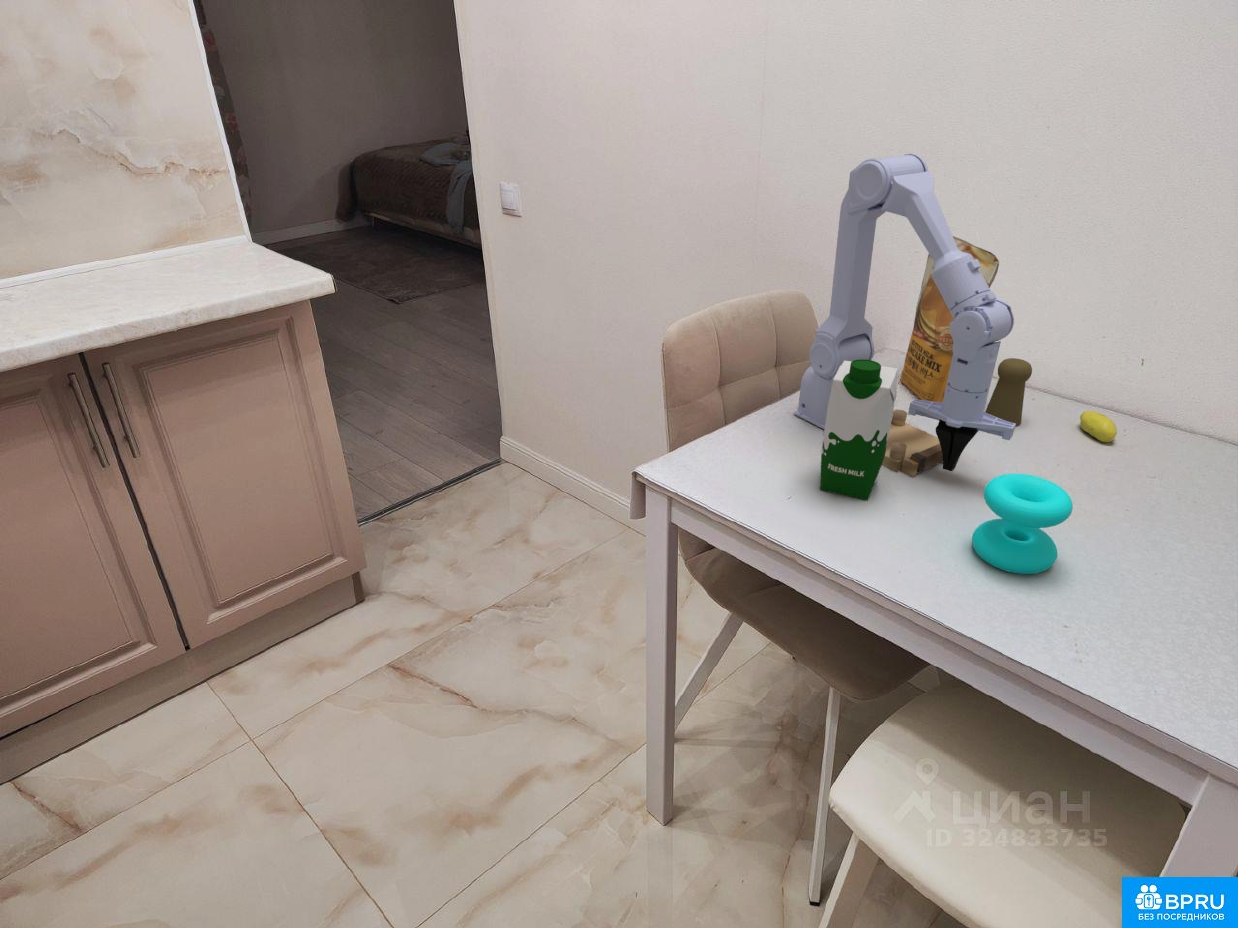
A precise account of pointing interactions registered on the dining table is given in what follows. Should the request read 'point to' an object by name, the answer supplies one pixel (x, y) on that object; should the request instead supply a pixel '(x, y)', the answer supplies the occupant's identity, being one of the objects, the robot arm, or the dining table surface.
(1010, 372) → the cork
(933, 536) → the dining table surface
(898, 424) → the stool seat
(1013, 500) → the donuts
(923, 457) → the hinged leg
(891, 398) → the milk carton
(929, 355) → the pancake mix bag
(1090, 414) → the lemon
